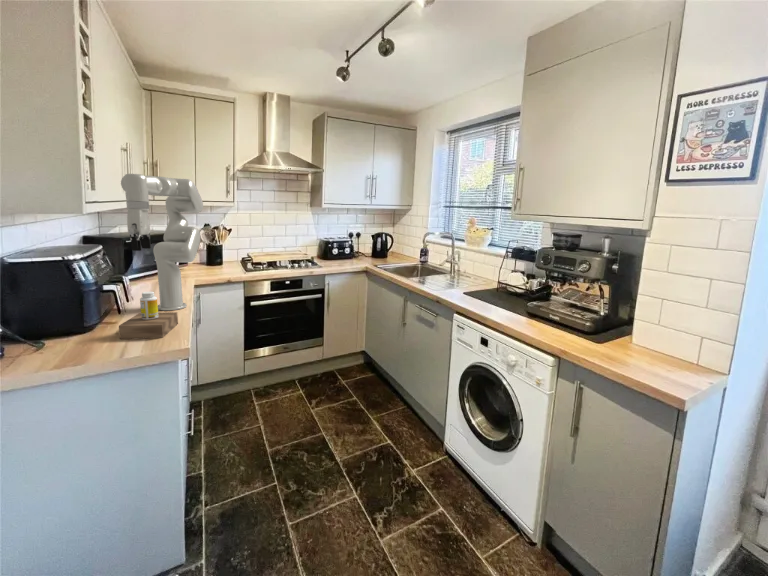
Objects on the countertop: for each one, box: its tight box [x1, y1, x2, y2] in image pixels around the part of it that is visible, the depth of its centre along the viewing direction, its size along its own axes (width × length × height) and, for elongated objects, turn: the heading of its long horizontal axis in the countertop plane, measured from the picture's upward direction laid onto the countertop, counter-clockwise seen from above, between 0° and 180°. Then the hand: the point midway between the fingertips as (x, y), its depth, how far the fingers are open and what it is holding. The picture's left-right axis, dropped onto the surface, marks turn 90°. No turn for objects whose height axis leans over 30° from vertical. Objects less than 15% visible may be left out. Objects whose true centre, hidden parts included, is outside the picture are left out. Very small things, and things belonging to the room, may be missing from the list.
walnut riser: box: [118, 311, 179, 340], centre depth 144 cm, size 18×14×5 cm
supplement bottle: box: [139, 291, 159, 320], centre depth 143 cm, size 6×6×10 cm
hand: (141, 249), depth 151 cm, fingers open, 9 cm apart
